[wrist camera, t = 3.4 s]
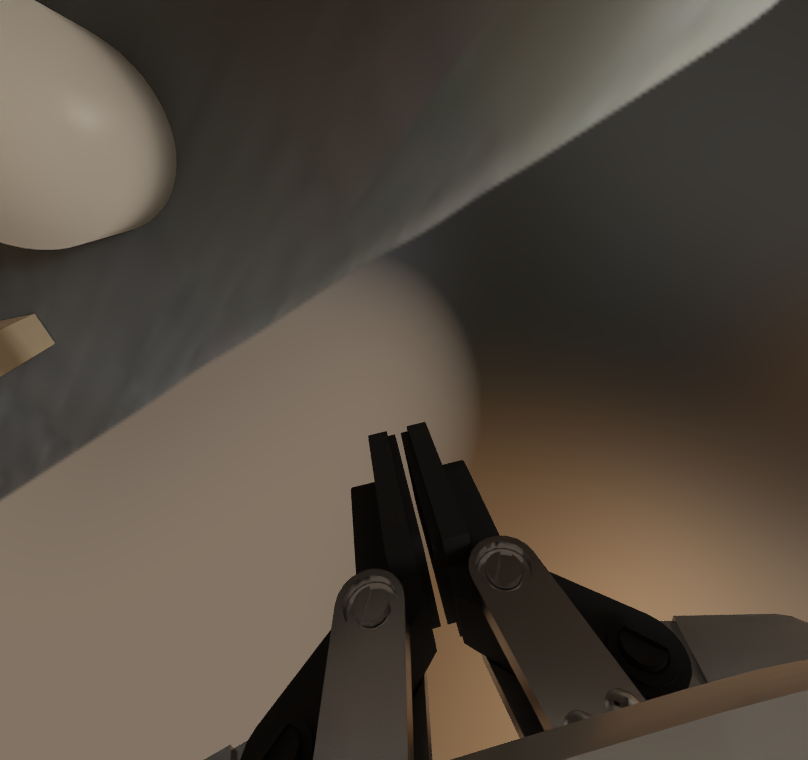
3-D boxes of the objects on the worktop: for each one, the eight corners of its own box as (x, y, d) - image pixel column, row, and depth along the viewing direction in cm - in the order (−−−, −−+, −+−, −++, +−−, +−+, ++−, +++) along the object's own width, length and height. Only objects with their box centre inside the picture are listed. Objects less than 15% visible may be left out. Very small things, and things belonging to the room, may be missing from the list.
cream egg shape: (121, -2, 13) (43, -64, 10) (206, 215, 17) (172, 227, 13) (-90, 34, 13) (-249, -17, 9) (41, 248, 16) (-39, 269, 13)
